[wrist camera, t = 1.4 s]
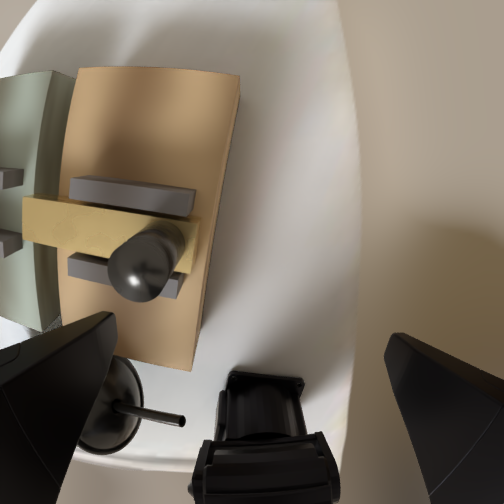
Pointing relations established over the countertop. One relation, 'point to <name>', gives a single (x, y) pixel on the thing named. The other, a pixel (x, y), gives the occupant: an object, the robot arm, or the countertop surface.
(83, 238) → the bolt
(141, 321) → the frame
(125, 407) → the drinking cup
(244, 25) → the countertop surface
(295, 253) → the countertop surface
